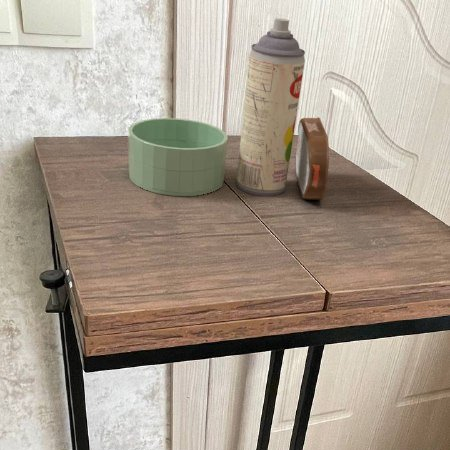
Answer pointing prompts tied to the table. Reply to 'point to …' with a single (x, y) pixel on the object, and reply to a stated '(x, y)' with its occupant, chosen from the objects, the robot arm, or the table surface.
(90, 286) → the table surface
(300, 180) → the tin
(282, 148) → the aerosol can
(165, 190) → the bowl
